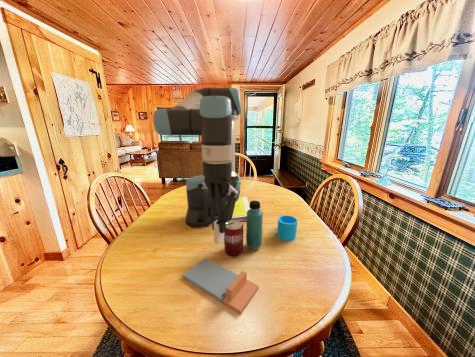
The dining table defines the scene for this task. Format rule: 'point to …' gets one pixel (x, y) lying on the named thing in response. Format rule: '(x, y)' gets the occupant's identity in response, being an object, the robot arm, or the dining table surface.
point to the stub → (240, 293)
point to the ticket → (211, 278)
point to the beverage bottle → (254, 225)
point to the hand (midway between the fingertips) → (219, 240)
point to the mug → (287, 228)
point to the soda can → (233, 239)
